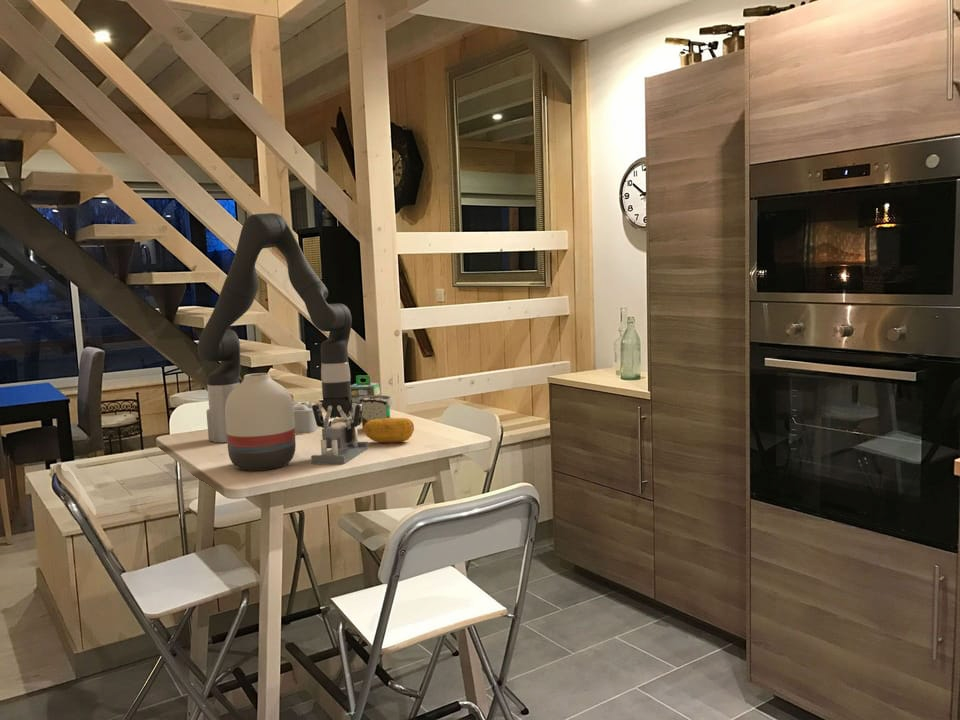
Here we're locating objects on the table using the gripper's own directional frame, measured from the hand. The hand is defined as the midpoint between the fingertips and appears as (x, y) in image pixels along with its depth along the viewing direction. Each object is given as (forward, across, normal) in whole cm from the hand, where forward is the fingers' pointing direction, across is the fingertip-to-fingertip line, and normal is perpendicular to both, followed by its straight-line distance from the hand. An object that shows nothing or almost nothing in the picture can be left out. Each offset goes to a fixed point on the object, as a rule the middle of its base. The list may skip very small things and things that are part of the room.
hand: (339, 441), depth 207 cm
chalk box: (+4, -13, +53) cm, 55 cm away
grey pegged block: (+4, 0, 0) cm, 4 cm away
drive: (+1, 0, 0) cm, 1 cm away
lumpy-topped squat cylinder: (+4, -27, +34) cm, 44 cm away
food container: (+4, -2, +37) cm, 37 cm away
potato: (+4, +8, +17) cm, 19 cm away
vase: (+4, -17, -11) cm, 20 cm away
